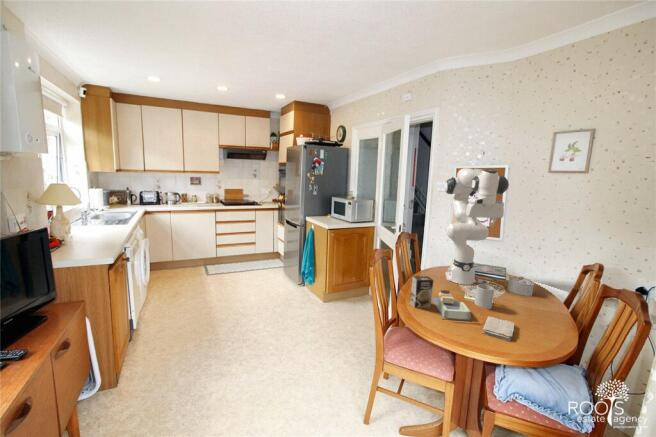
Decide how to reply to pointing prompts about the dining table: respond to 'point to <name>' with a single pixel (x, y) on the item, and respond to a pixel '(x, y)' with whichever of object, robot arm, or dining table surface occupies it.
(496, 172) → the robot arm
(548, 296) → the dining table surface
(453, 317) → the dock
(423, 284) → the coffee box
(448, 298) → the beige box with tab
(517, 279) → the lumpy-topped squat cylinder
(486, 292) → the mug
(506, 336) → the washcloth
